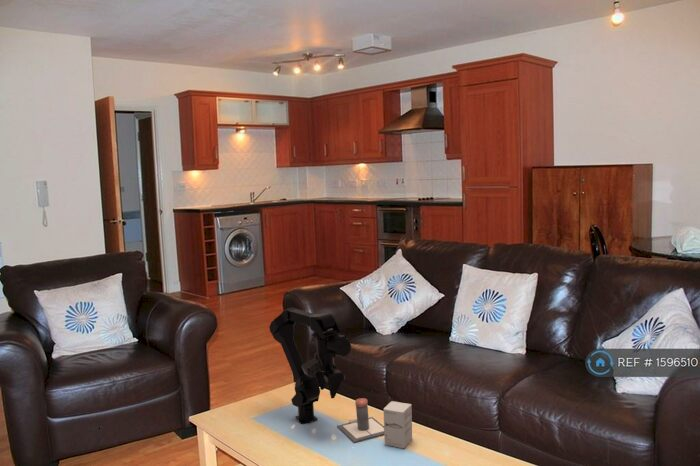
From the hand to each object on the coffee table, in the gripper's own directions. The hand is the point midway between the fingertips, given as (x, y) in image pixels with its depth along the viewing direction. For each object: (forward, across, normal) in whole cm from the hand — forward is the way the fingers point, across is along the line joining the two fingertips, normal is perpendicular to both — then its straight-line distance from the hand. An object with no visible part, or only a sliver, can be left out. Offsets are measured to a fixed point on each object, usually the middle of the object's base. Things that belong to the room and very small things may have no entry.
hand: (327, 393), depth 207 cm
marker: (+12, +7, +10) cm, 17 cm away
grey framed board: (+13, +7, +10) cm, 18 cm away
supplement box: (+13, +21, +16) cm, 30 cm away
